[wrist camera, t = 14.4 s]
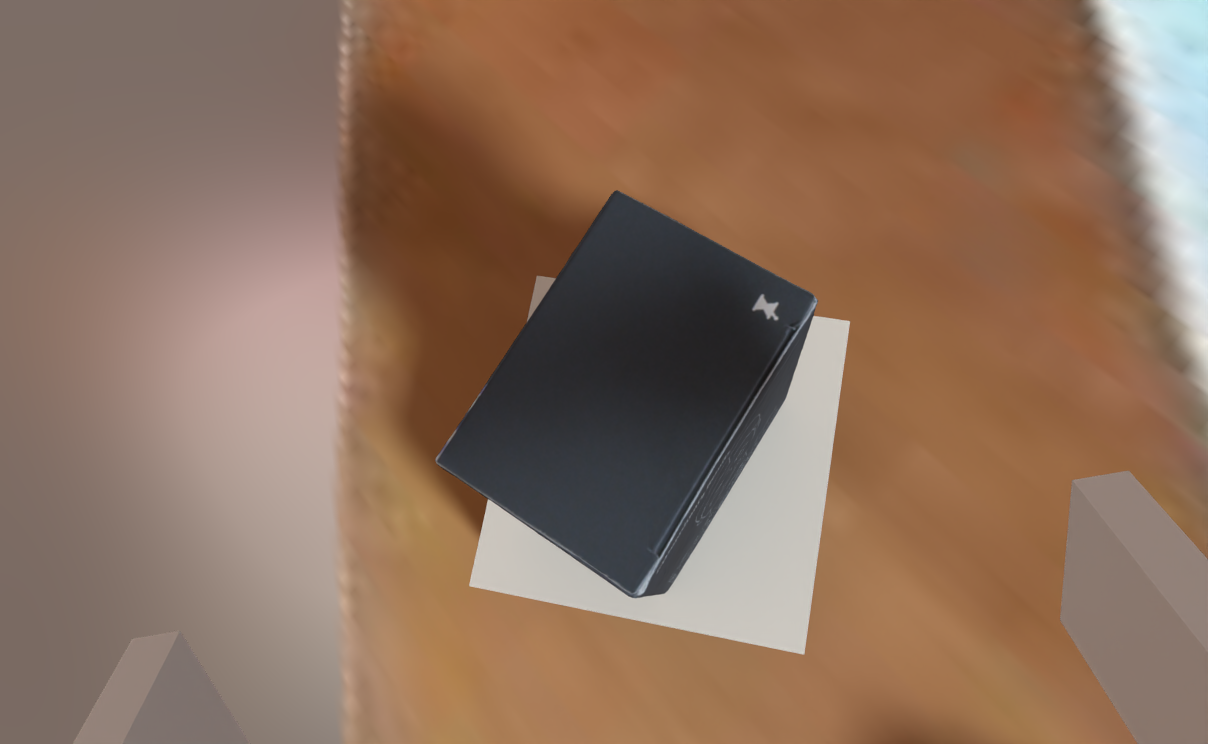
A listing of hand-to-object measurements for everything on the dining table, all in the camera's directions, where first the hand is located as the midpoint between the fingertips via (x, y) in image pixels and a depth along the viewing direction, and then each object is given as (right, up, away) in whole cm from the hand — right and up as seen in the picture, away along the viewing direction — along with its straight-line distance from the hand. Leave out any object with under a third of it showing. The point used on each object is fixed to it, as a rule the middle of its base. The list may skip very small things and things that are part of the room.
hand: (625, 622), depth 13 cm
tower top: (+2, 0, +21) cm, 21 cm away
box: (+1, +1, +17) cm, 17 cm away
